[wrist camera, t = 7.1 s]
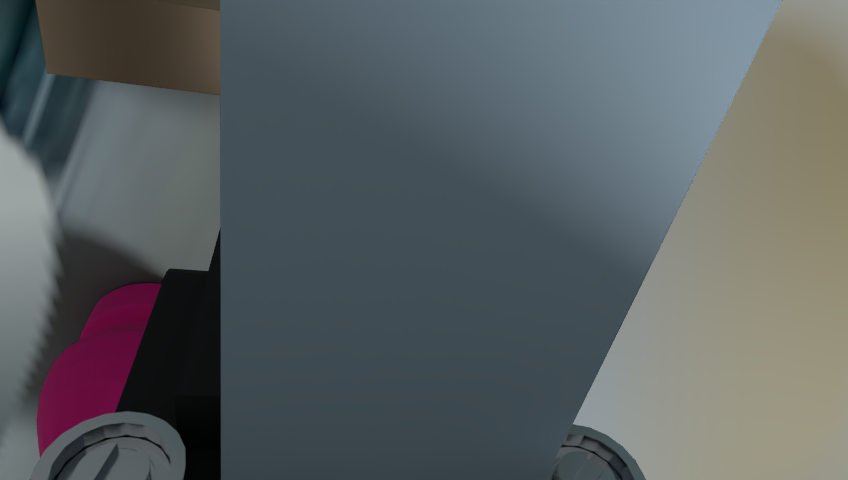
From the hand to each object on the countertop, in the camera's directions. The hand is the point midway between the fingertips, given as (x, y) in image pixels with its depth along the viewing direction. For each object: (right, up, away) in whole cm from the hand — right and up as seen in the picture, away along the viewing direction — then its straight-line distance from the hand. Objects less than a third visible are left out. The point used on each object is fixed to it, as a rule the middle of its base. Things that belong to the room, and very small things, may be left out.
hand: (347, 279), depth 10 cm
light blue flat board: (-1, +5, +6) cm, 8 cm away
